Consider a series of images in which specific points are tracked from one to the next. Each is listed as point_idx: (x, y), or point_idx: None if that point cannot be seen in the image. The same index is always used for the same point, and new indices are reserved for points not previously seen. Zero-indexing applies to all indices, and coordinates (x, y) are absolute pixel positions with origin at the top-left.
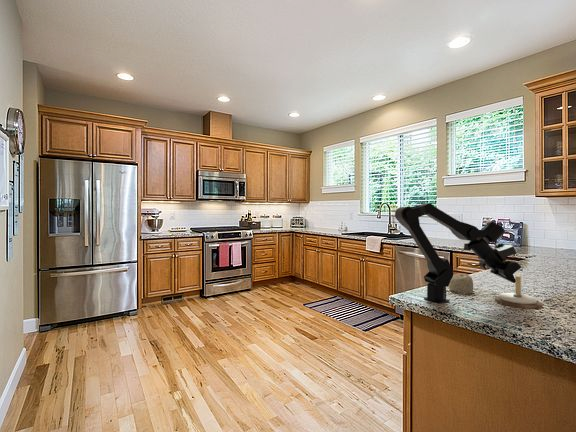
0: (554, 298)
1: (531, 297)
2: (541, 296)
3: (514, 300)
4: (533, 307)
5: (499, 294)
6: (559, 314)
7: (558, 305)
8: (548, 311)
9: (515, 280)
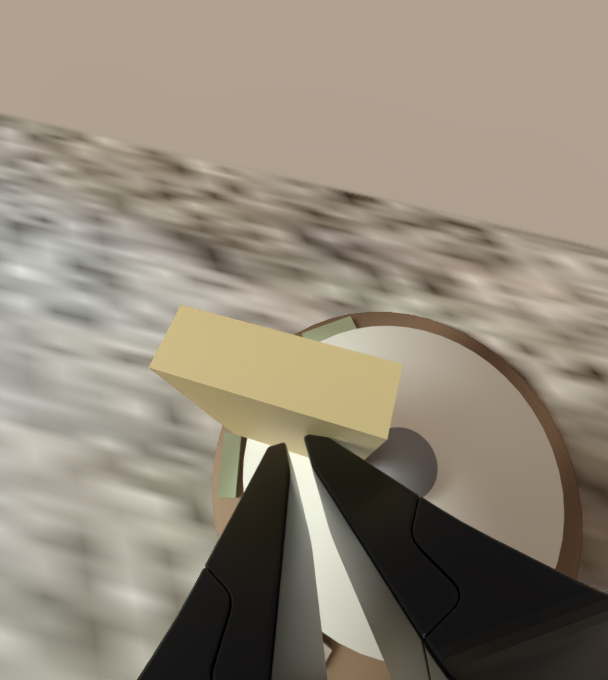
0: (151, 208)
1: (370, 351)
2: (110, 257)
3: (554, 532)
4: (528, 394)
5: (379, 658)
6: (574, 285)
7: (331, 234)
8: (536, 323)
9: (333, 443)
